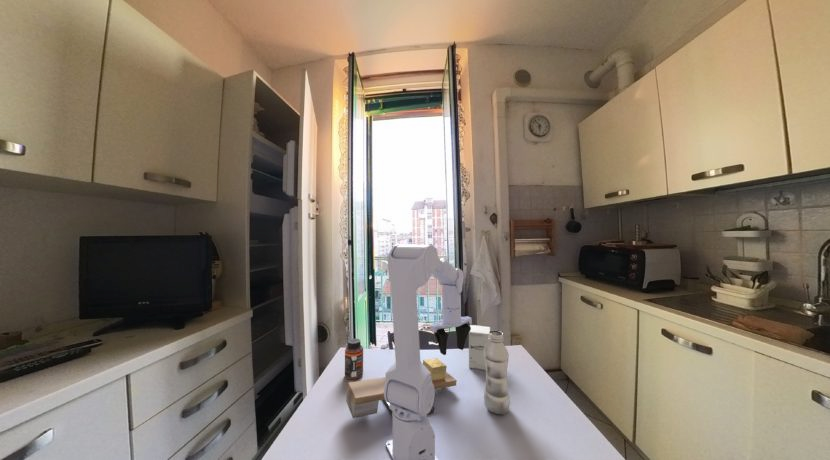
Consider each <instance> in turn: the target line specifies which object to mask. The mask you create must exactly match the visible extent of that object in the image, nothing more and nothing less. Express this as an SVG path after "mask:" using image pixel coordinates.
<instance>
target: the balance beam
mask: <svg viewBox="0 0 830 460" xmlns="http://www.w3.org/2000/svg"><path fill="white" fill-rule="evenodd" d="M385 381H386V376H384V377H379V378H378V377H377V378H371V379H365V380H363V379H362V380H357V381H349V382H348V384H347V389H346V390H347V391H346V398H345V402H346V405H347V408H348V409H349V412H350V414H351V417H352V419H358V418H362V417H366V416H370V415H375V414H378V409H379V402H380V401H383V400H384V399H385V398H384V386H385ZM432 383H433V385H434V389H435V391H436V390H441V389H444V388H450V387H456V386H457V379H456V378H454V377H453V376H452V375H451V374H450V373H449V372H447V371H446V376H445V380H443V381H437V382H432Z"/></svg>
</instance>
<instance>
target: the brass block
mask: <svg viewBox="0 0 830 460" xmlns="http://www.w3.org/2000/svg"><path fill="white" fill-rule="evenodd" d="M422 364H423V365H424V366H425V367H426V368H427V369H428V370H429V371H430V373H431V378H432V382H437V381H443V380H445V376H446V372H447V368H448V367H447V365H446V364H445V363H444V362H442V361H441V360H440V359H439V358H427V359H423V360H422Z"/></svg>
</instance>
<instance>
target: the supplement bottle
mask: <svg viewBox="0 0 830 460" xmlns="http://www.w3.org/2000/svg"><path fill="white" fill-rule="evenodd" d="M361 344H362V343H361V339H360V338H351V339H349V340H348V341H347V347H345V349H344V377H345V378H346V379H347V380H351V381H352V380H358V379H359V378H361V377H362V376H363V374H364V346H362V345H361Z"/></svg>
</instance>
